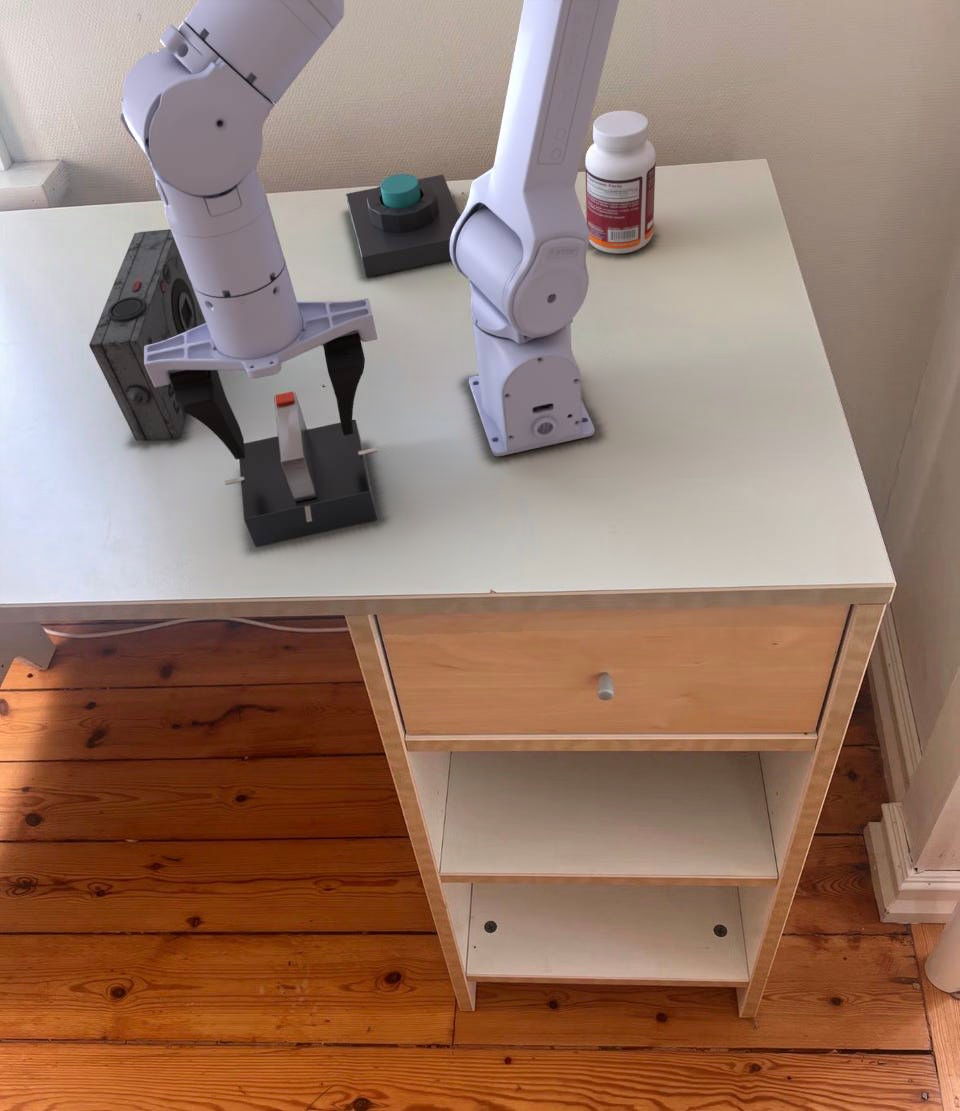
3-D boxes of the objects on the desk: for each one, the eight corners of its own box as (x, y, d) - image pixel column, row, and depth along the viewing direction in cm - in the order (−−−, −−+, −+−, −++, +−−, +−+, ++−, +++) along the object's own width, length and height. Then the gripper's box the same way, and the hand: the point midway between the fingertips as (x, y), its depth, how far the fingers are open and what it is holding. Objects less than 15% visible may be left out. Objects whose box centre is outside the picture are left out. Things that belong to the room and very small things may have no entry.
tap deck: (396, 532, 69) (388, 502, 67) (241, 567, 69) (228, 538, 66) (373, 431, 77) (366, 400, 74) (233, 461, 76) (221, 432, 74)
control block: (470, 256, 91) (465, 217, 88) (366, 277, 91) (358, 239, 88) (445, 194, 99) (440, 156, 96) (349, 213, 99) (341, 176, 96)
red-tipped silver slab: (317, 497, 68) (303, 453, 65) (294, 502, 68) (279, 458, 65) (308, 432, 73) (294, 388, 69) (287, 437, 73) (272, 393, 69)
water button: (423, 206, 91) (421, 188, 90) (386, 213, 91) (383, 196, 90) (417, 187, 94) (414, 170, 92) (380, 194, 93) (377, 177, 92)
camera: (180, 448, 78) (135, 347, 70) (132, 451, 78) (82, 351, 70) (214, 324, 88) (178, 224, 81) (172, 327, 88) (132, 228, 81)
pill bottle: (619, 212, 94) (621, 98, 86) (666, 236, 91) (673, 119, 82) (572, 239, 92) (569, 125, 83) (619, 264, 88) (621, 147, 80)
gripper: (114, 334, 55) (192, 499, 65) (366, 281, 56) (403, 452, 66) (118, 267, 59) (190, 431, 70) (350, 219, 60) (387, 388, 71)
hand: (293, 437), depth 68 cm, fingers open, 7 cm apart
